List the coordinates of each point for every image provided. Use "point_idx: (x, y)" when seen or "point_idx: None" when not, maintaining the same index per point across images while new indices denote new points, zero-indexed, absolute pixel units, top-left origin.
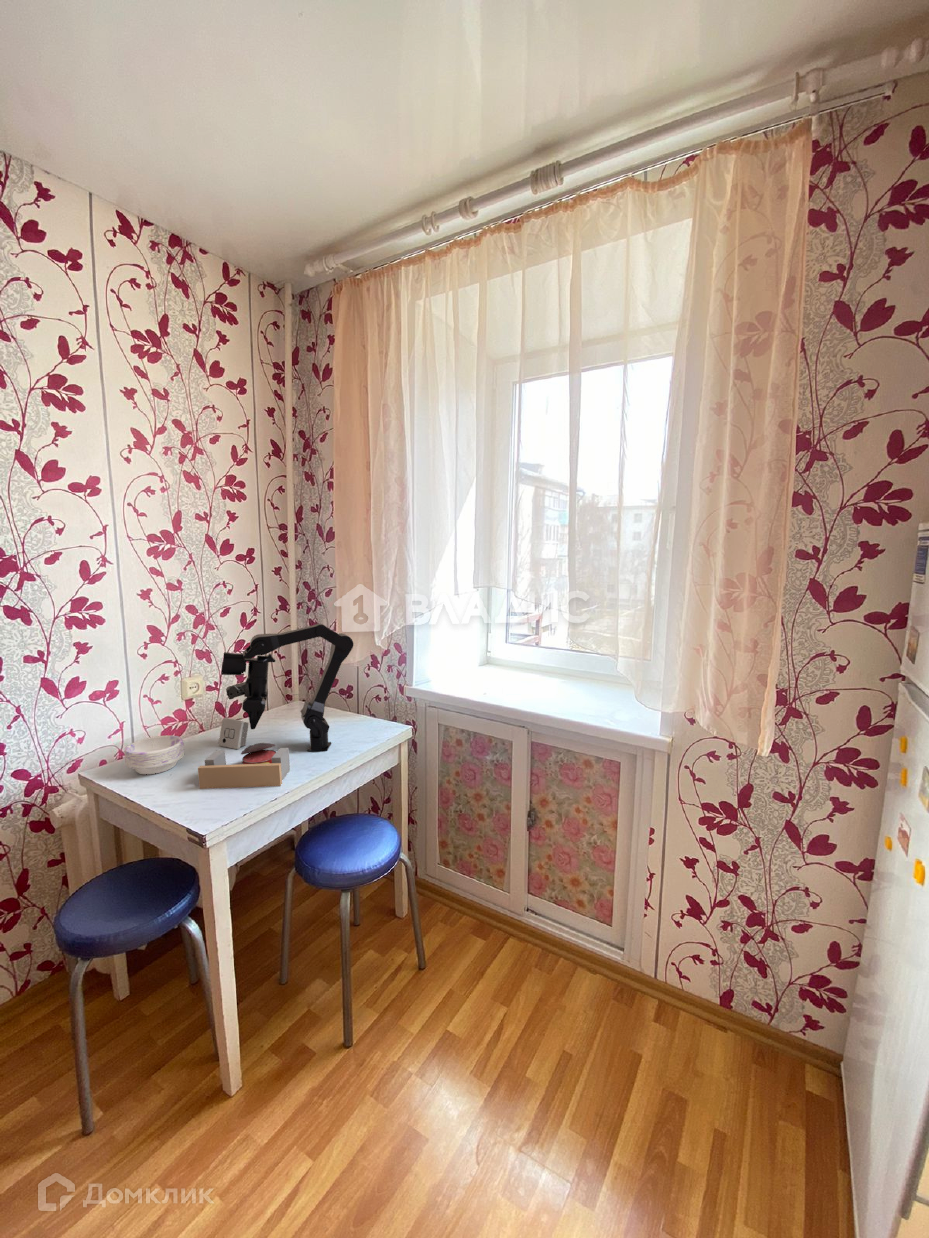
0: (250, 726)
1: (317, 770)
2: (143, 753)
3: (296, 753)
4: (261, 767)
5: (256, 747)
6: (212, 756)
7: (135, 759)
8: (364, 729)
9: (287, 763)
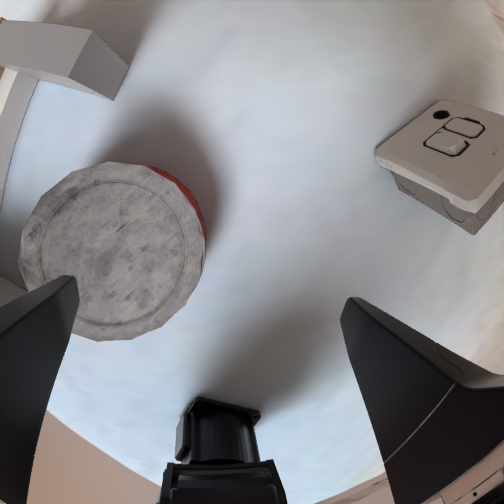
0: (44, 284)
1: None
2: None
3: (197, 367)
4: None
5: (66, 256)
6: (18, 39)
7: None
8: (295, 486)
9: None
